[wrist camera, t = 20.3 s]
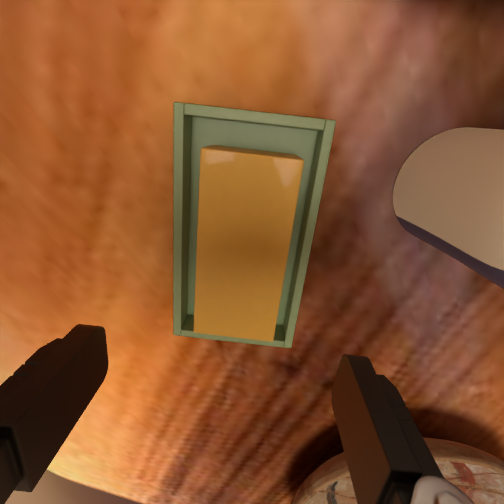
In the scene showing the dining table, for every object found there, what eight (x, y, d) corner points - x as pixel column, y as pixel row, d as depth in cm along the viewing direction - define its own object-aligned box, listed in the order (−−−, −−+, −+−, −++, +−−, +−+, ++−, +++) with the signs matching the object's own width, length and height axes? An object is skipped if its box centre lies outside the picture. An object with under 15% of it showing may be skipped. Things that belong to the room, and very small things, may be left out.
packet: (212, 144, 19) (200, 147, 15) (296, 154, 19) (304, 159, 15) (204, 301, 23) (193, 333, 20) (271, 309, 23) (273, 342, 20)
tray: (181, 316, 25) (173, 335, 22) (184, 105, 18) (173, 101, 16) (288, 328, 25) (291, 348, 22) (327, 121, 18) (336, 120, 16)
